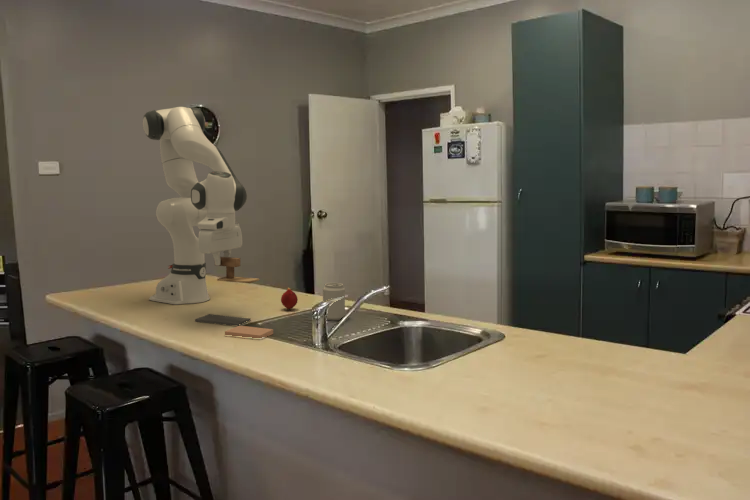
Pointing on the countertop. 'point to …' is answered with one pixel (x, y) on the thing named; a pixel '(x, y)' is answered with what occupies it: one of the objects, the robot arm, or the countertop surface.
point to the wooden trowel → (230, 265)
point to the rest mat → (222, 319)
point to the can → (337, 307)
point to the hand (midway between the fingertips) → (222, 264)
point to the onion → (289, 299)
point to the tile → (249, 332)
